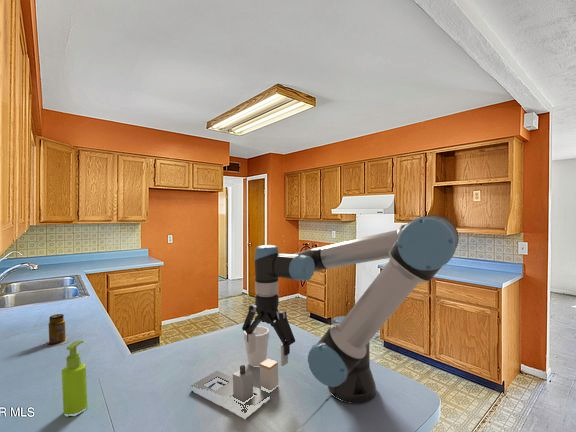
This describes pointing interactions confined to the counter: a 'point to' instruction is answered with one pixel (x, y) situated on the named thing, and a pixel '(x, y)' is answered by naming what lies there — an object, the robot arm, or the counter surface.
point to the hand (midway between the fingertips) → (267, 358)
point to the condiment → (56, 330)
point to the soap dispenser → (74, 382)
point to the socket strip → (231, 389)
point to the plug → (269, 374)
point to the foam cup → (258, 346)
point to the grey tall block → (243, 384)
